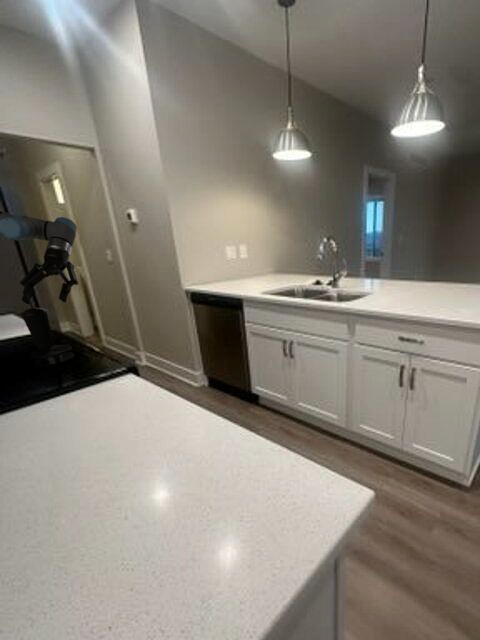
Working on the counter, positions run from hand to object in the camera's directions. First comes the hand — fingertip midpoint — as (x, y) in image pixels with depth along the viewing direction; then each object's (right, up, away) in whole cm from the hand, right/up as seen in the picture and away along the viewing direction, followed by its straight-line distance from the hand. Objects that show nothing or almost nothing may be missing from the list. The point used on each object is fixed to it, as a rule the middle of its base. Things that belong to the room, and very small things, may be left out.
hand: (43, 301), depth 124 cm
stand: (+13, -22, -13) cm, 28 cm away
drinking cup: (+1, -17, +1) cm, 17 cm away
